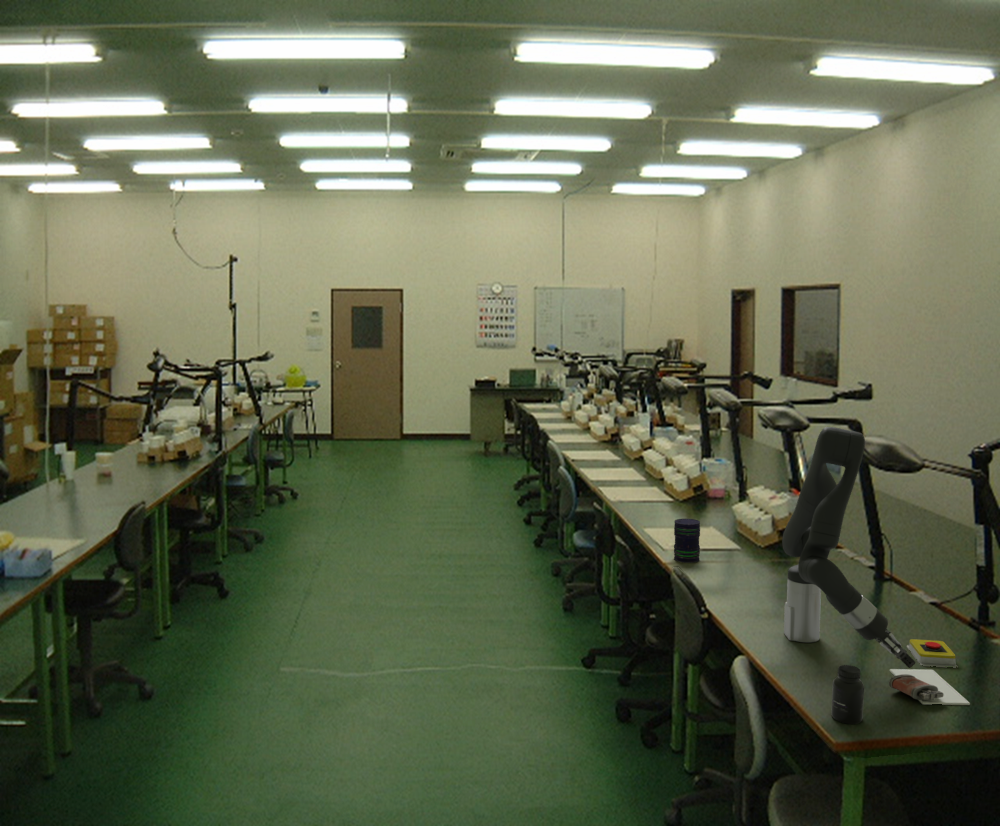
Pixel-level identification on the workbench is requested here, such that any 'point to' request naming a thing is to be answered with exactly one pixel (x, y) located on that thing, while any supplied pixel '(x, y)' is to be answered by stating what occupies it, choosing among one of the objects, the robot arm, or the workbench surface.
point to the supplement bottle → (847, 695)
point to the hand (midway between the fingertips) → (911, 664)
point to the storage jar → (686, 540)
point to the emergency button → (932, 653)
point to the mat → (934, 679)
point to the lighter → (914, 687)
